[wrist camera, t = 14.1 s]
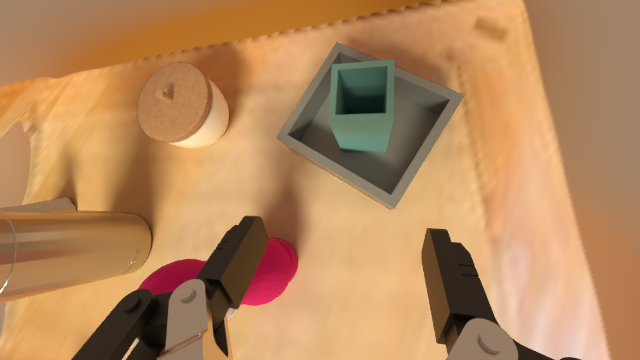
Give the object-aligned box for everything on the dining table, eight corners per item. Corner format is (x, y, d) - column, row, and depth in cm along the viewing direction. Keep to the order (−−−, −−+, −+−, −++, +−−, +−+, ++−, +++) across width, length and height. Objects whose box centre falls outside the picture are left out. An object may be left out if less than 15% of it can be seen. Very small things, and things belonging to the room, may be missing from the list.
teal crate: (342, 151, 30) (328, 121, 21) (344, 111, 31) (332, 64, 22) (386, 152, 29) (393, 119, 19) (387, 110, 30) (394, 59, 20)
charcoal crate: (290, 149, 33) (276, 137, 28) (341, 67, 33) (336, 42, 29) (390, 209, 29) (394, 208, 24) (449, 115, 29) (464, 95, 24)
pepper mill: (268, 224, 32) (112, 235, 13) (311, 253, 30) (204, 318, 11) (241, 270, 32) (42, 350, 13) (283, 302, 30) (124, 456, 11)
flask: (43, 210, 42) (-55, 208, 32) (72, 189, 41) (-19, 181, 32) (51, 246, 40) (-50, 255, 30) (82, 225, 39) (-12, 228, 30)
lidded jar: (253, 105, 36) (213, 67, 27) (221, 167, 35) (169, 150, 26) (202, 84, 38) (150, 43, 29) (171, 141, 38) (109, 117, 29)
